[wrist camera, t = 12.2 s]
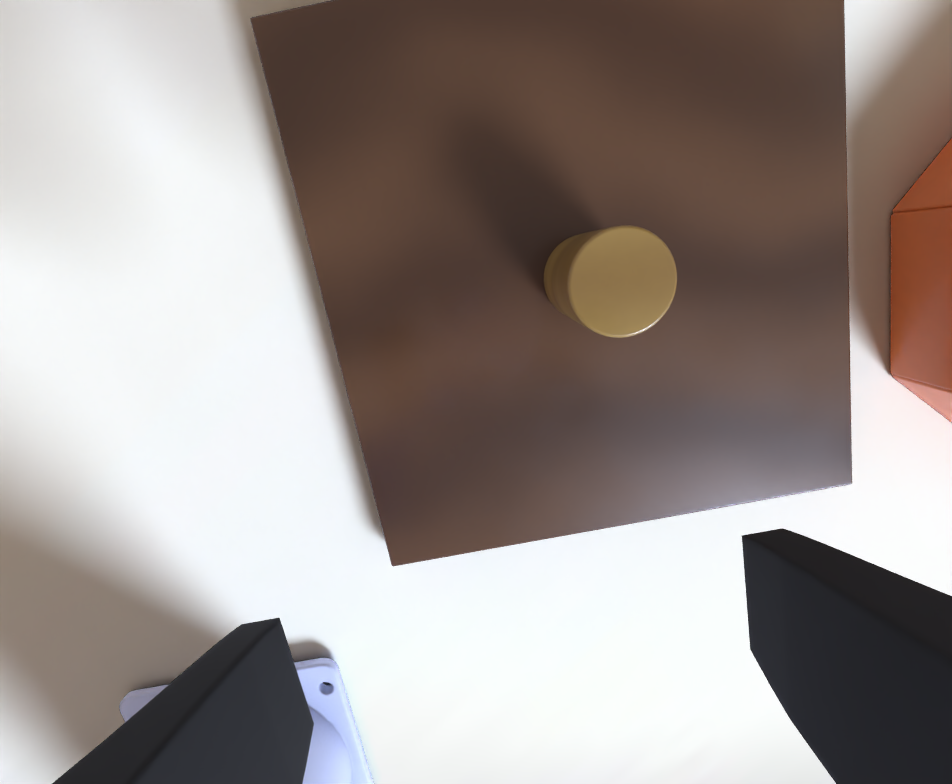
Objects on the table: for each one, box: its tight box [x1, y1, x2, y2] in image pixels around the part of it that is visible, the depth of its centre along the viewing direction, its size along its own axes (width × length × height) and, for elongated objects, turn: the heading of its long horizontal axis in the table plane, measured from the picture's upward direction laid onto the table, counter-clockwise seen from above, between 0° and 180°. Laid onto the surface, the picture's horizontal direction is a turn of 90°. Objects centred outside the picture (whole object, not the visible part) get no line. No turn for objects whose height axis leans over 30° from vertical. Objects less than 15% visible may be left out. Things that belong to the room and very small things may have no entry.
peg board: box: [251, 0, 852, 566], centre depth 14 cm, size 16×15×5 cm
